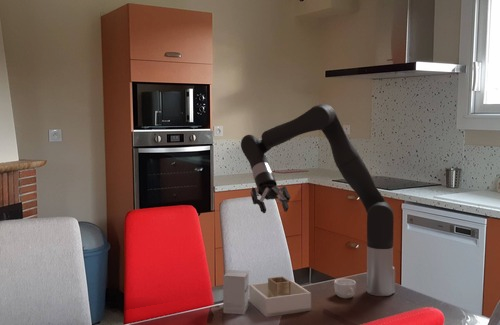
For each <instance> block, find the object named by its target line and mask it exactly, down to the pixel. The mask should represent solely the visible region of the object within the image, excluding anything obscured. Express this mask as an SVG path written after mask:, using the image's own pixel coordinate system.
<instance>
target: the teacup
mask: <svg viewBox="0 0 500 325" xmlns="http://www.w3.org/2000/svg"><path fill="white" fill-rule="evenodd" d="M333 287H334V293H335V294H336V295H337V296H338V297H339V298H341V299H350V298H352V297H353V296H354V295H355V293H356V289H357V282H356V281H355V280H354V279H350V278H336V279H335V280H334V284H333Z"/></svg>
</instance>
